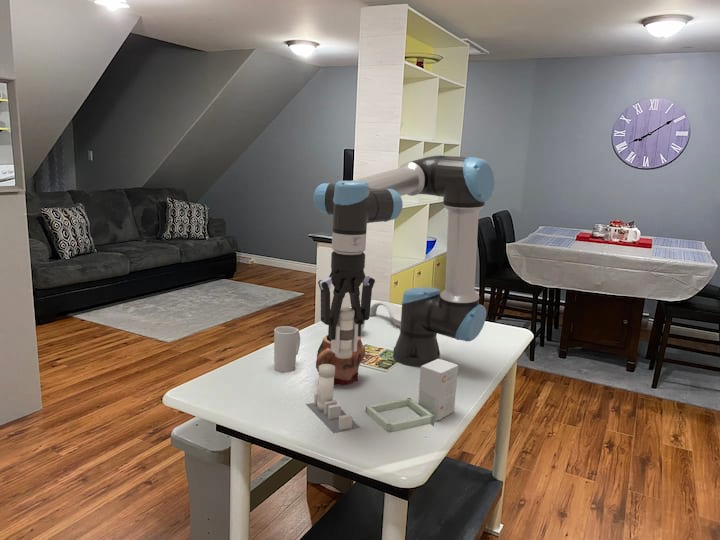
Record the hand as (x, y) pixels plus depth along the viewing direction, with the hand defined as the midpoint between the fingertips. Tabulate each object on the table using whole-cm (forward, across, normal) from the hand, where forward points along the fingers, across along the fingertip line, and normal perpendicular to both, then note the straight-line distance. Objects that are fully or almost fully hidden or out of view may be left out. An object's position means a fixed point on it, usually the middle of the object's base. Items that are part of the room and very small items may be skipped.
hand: (343, 350), depth 131 cm
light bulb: (+1, 0, 0) cm, 1 cm away
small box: (+20, +26, -2) cm, 33 cm away
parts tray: (+20, +15, -3) cm, 25 cm away
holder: (+20, 0, +4) cm, 20 cm away
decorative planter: (+20, +11, +23) cm, 32 cm away
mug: (+20, +3, +40) cm, 45 cm away
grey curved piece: (+21, +57, +67) cm, 91 cm away
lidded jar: (+20, +35, +61) cm, 73 cm away
